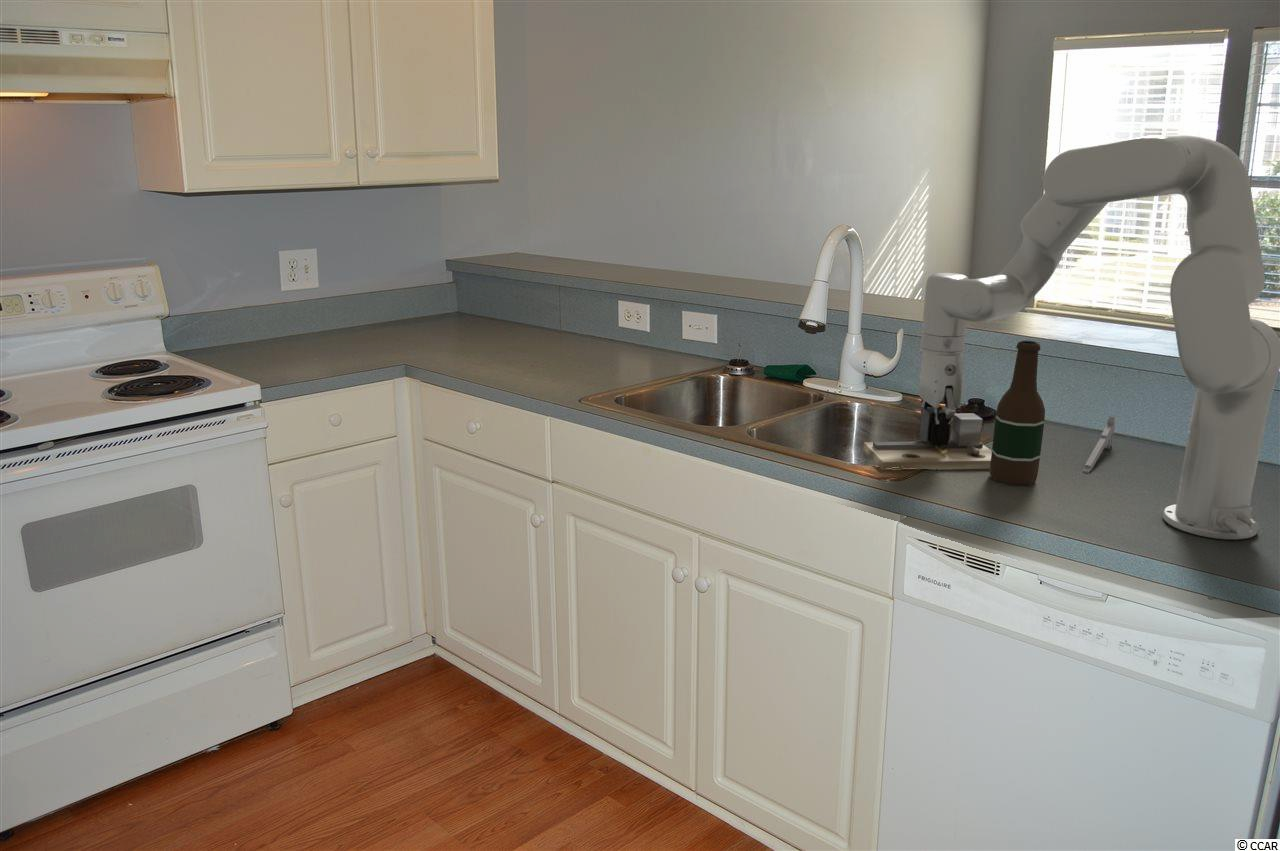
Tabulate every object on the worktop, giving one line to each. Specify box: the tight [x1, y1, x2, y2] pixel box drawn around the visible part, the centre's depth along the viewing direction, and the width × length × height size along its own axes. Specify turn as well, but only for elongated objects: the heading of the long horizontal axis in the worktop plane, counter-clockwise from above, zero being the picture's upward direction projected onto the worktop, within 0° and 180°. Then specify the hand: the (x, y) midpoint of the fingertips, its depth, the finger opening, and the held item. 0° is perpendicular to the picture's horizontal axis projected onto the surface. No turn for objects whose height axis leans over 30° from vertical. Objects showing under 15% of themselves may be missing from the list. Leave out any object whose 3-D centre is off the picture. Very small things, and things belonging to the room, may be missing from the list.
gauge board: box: [862, 412, 992, 471], centre depth 182 cm, size 12×22×7 cm, turn 94°
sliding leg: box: [918, 407, 947, 455], centre depth 182 cm, size 8×4×7 cm, turn 4°
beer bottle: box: [989, 340, 1046, 487], centre depth 169 cm, size 8×8×24 cm
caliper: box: [1082, 416, 1116, 474], centre depth 183 cm, size 20×1×6 cm, turn 145°
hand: (933, 439), depth 184 cm, fingers open, 5 cm apart
